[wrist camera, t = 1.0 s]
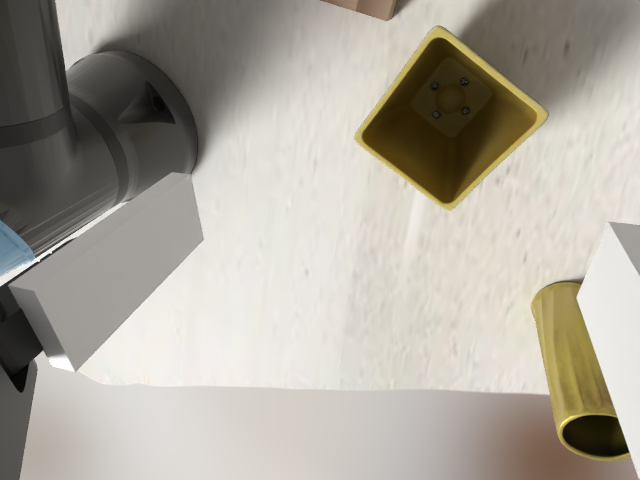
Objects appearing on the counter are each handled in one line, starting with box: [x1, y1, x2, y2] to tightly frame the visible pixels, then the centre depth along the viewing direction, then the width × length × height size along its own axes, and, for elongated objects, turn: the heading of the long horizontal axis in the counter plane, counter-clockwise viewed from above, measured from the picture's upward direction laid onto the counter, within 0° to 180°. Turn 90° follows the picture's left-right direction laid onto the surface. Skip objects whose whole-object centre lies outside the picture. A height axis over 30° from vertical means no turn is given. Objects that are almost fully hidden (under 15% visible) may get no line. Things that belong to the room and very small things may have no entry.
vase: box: [531, 282, 631, 461], centre depth 34 cm, size 6×6×14 cm
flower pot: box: [354, 26, 549, 211], centre depth 30 cm, size 9×9×9 cm
